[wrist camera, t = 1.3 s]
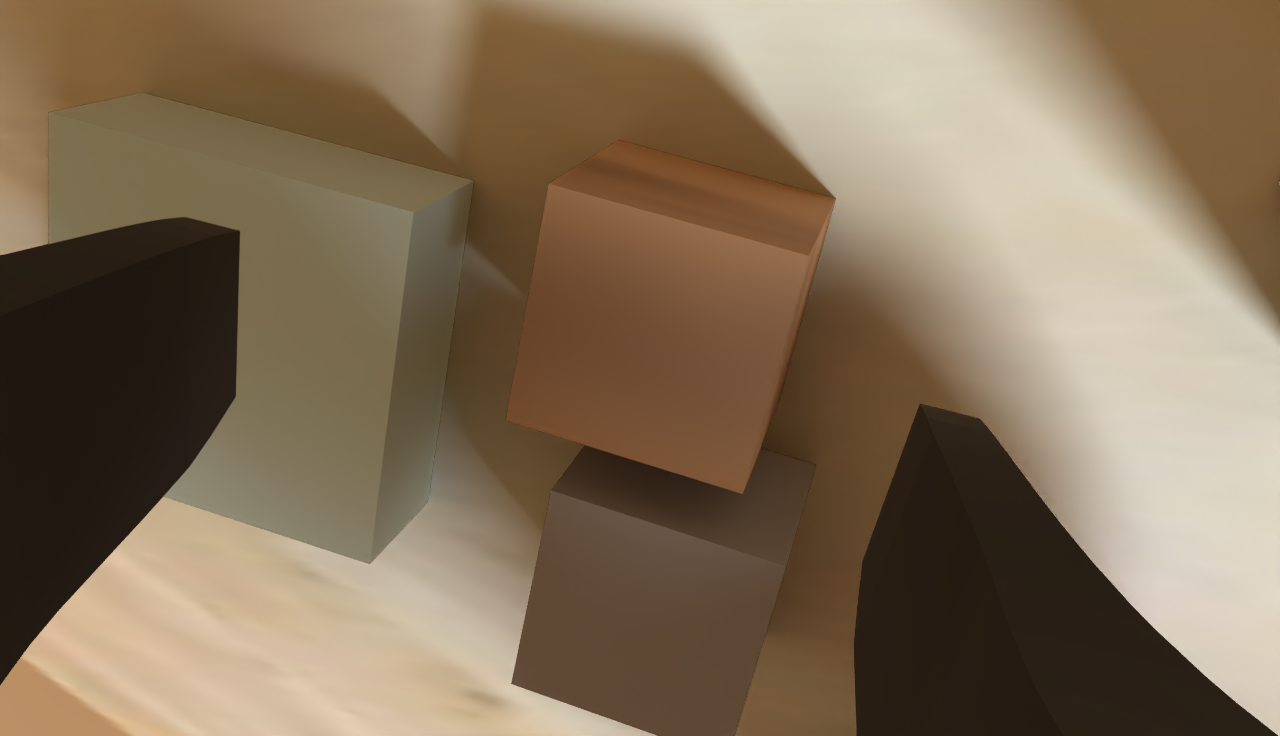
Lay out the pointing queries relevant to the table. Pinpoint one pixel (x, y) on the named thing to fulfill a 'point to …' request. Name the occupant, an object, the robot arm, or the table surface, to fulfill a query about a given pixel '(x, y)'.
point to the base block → (293, 305)
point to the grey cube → (658, 590)
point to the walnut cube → (666, 310)
